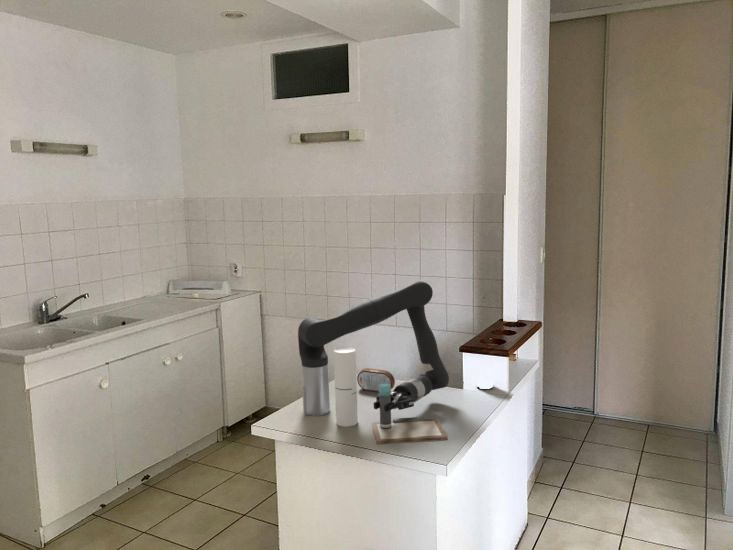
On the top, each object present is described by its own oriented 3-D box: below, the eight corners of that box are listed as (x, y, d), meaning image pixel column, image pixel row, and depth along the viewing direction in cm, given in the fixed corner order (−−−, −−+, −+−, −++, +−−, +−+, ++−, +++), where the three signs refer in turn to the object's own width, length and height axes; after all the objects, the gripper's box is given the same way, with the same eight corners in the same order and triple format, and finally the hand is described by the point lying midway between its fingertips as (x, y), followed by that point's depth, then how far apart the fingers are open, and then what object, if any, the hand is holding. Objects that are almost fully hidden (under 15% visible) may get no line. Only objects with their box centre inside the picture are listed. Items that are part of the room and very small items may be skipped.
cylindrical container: (333, 420, 205) (330, 348, 202) (352, 417, 208) (350, 346, 205) (340, 428, 199) (338, 354, 195) (360, 424, 202) (358, 351, 198)
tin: (395, 391, 233) (394, 370, 232) (392, 394, 230) (391, 372, 229) (359, 387, 239) (359, 366, 238) (356, 390, 236) (355, 369, 235)
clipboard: (376, 443, 186) (376, 438, 186) (371, 425, 201) (371, 419, 200) (447, 439, 188) (447, 433, 187) (437, 420, 202) (437, 415, 202)
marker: (380, 429, 194) (379, 387, 192) (379, 425, 198) (378, 383, 196) (392, 428, 194) (391, 386, 192) (390, 424, 198) (389, 383, 196)
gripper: (392, 378, 210) (361, 392, 196) (427, 385, 201) (398, 400, 188) (392, 399, 211) (362, 414, 197) (427, 407, 202) (398, 423, 189)
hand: (380, 407), depth 193 cm, fingers closed on marker, 3 cm apart
